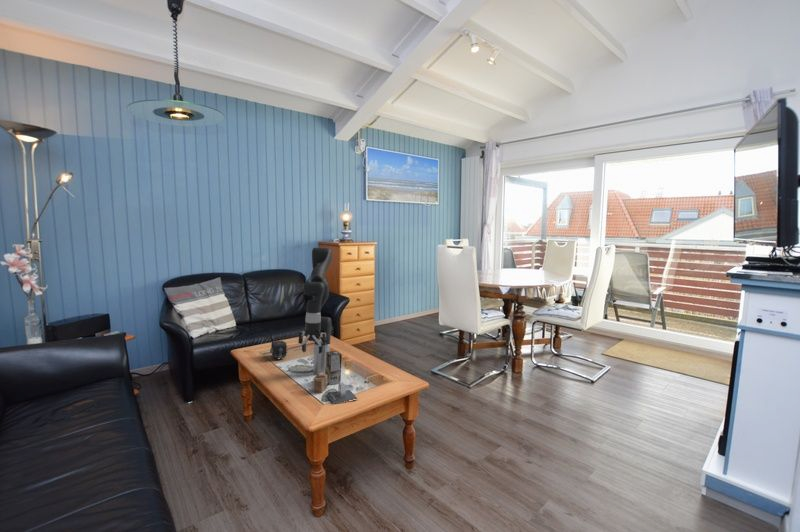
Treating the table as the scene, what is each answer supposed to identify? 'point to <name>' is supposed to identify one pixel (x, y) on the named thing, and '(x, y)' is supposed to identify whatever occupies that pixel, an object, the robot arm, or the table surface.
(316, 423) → the table surface
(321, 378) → the brown block
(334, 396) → the stub plate
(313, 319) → the robot arm
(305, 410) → the table surface
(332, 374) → the coffee box
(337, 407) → the table surface
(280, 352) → the camera
